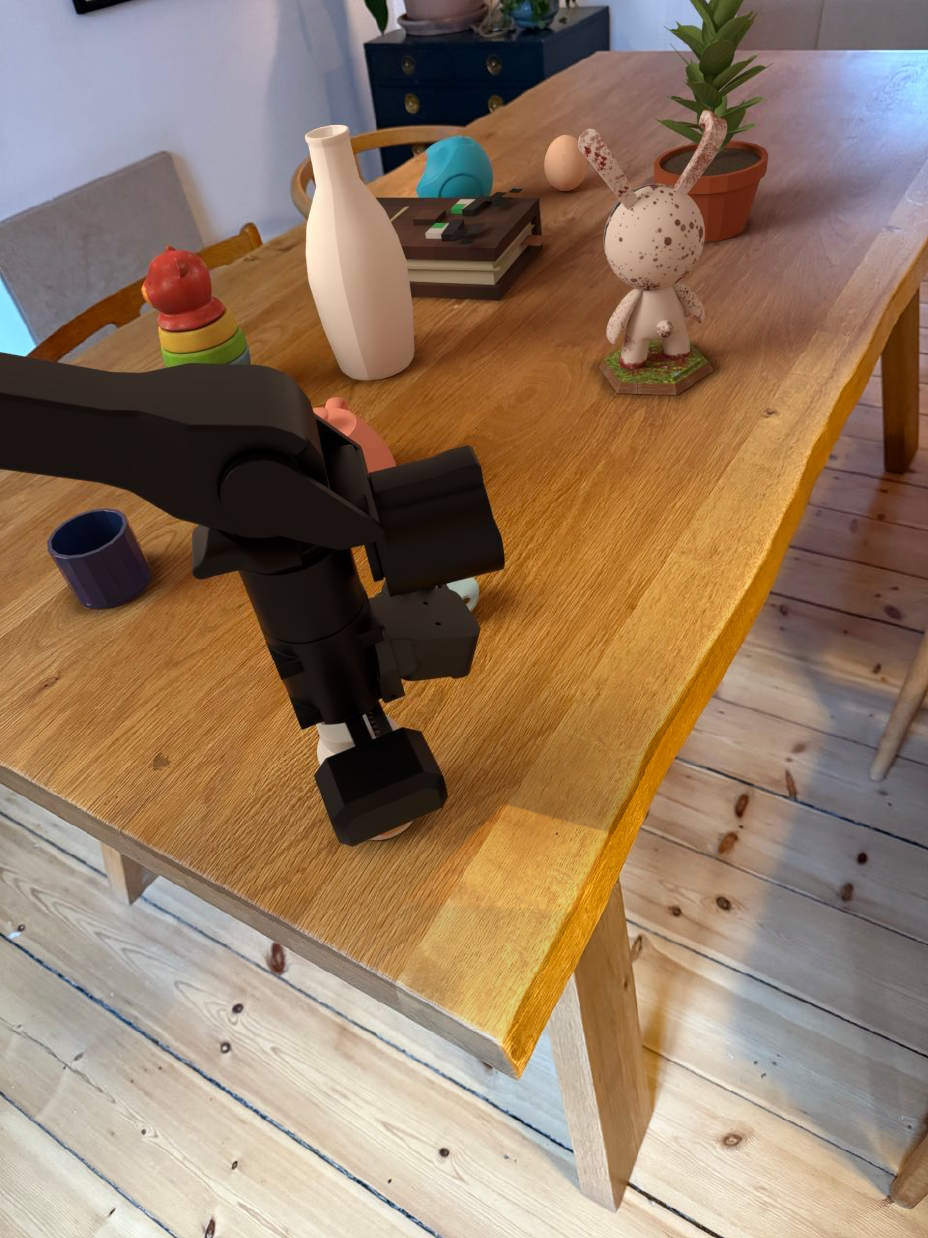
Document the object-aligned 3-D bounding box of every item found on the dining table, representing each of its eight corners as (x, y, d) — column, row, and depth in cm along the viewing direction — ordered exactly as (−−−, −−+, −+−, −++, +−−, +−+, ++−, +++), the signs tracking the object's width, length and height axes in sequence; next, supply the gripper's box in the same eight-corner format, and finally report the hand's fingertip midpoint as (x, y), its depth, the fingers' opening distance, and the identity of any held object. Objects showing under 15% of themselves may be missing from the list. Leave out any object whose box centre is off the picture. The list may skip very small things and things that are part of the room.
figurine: (692, 331, 102) (702, 84, 85) (739, 380, 93) (761, 115, 76) (572, 359, 101) (558, 115, 84) (608, 411, 92) (600, 150, 75)
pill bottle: (426, 775, 61) (400, 680, 55) (415, 843, 58) (386, 750, 51) (350, 775, 62) (315, 681, 56) (334, 843, 58) (295, 750, 52)
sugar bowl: (262, 547, 83) (227, 454, 76) (302, 462, 93) (274, 372, 86) (389, 544, 81) (365, 448, 74) (416, 457, 91) (397, 365, 84)
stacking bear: (174, 396, 108) (115, 249, 96) (256, 373, 109) (208, 225, 97) (183, 438, 100) (120, 283, 88) (271, 413, 102) (220, 257, 90)
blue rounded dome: (438, 205, 144) (426, 126, 136) (506, 203, 140) (498, 122, 132) (412, 234, 136) (398, 152, 128) (484, 233, 132) (473, 149, 124)
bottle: (313, 371, 108) (250, 143, 90) (382, 333, 113) (334, 109, 95) (373, 396, 101) (317, 155, 84) (442, 354, 106) (403, 119, 89)
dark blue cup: (79, 619, 79) (49, 568, 75) (74, 575, 84) (45, 524, 80) (157, 592, 80) (131, 540, 76) (147, 550, 85) (122, 499, 81)
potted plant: (628, 238, 124) (624, -24, 103) (696, 201, 130) (706, -53, 110) (718, 259, 115) (733, -23, 94) (786, 218, 121) (815, -55, 101)
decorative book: (364, 188, 131) (558, 187, 120) (375, 240, 137) (561, 244, 125) (298, 240, 119) (507, 245, 108) (313, 295, 124) (513, 305, 113)
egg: (592, 181, 142) (590, 127, 137) (583, 196, 138) (580, 141, 132) (551, 183, 144) (547, 129, 139) (541, 198, 140) (537, 143, 134)
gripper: (523, 661, 42) (547, 843, 53) (395, 472, 55) (435, 647, 66) (300, 751, 40) (371, 921, 51) (222, 532, 53) (292, 703, 64)
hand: (372, 781), depth 58 cm, fingers open, 7 cm apart
